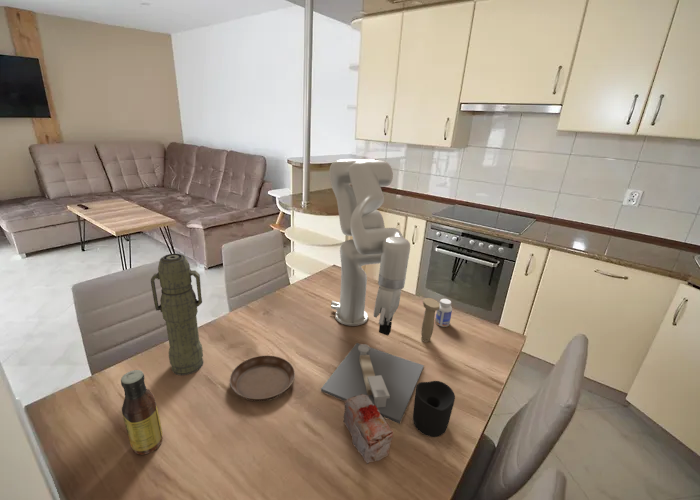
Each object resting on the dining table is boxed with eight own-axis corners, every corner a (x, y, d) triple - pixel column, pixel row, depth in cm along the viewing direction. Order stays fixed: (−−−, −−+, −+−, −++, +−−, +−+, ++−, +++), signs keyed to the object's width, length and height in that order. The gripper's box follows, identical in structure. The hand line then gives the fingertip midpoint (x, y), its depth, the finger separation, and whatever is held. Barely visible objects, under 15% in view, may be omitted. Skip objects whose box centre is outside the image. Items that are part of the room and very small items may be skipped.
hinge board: (320, 391, 96) (321, 377, 94) (356, 345, 116) (357, 333, 114) (399, 424, 87) (401, 409, 85) (423, 367, 107) (425, 355, 106)
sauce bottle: (140, 433, 80) (125, 363, 73) (168, 432, 81) (155, 363, 74) (125, 458, 74) (107, 386, 67) (155, 457, 75) (141, 385, 68)
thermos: (211, 368, 102) (199, 259, 89) (166, 380, 96) (146, 266, 84) (207, 351, 109) (195, 248, 96) (165, 361, 104) (147, 253, 91)
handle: (427, 333, 125) (432, 297, 120) (436, 344, 119) (442, 306, 114) (415, 335, 123) (420, 298, 118) (424, 346, 118) (430, 308, 112)
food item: (395, 458, 78) (399, 425, 75) (365, 472, 75) (368, 439, 71) (365, 414, 89) (367, 384, 86) (337, 425, 86) (339, 394, 82)
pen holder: (418, 403, 94) (423, 374, 90) (452, 419, 89) (459, 388, 86) (405, 427, 86) (410, 396, 82) (442, 446, 82) (448, 414, 78)
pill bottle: (450, 321, 133) (454, 299, 130) (448, 328, 129) (452, 306, 125) (436, 318, 135) (440, 296, 132) (433, 324, 131) (437, 302, 127)
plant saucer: (272, 355, 109) (272, 347, 108) (307, 385, 98) (307, 377, 97) (219, 381, 98) (218, 372, 97) (251, 419, 86) (250, 410, 85)
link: (359, 359, 107) (359, 355, 107) (368, 359, 108) (369, 354, 107) (367, 395, 94) (368, 389, 93) (378, 394, 94) (378, 389, 93)
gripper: (388, 266, 105) (381, 316, 112) (369, 287, 92) (363, 342, 100) (411, 273, 102) (403, 324, 109) (395, 295, 90) (387, 351, 97)
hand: (384, 332), depth 105 cm, fingers closed
